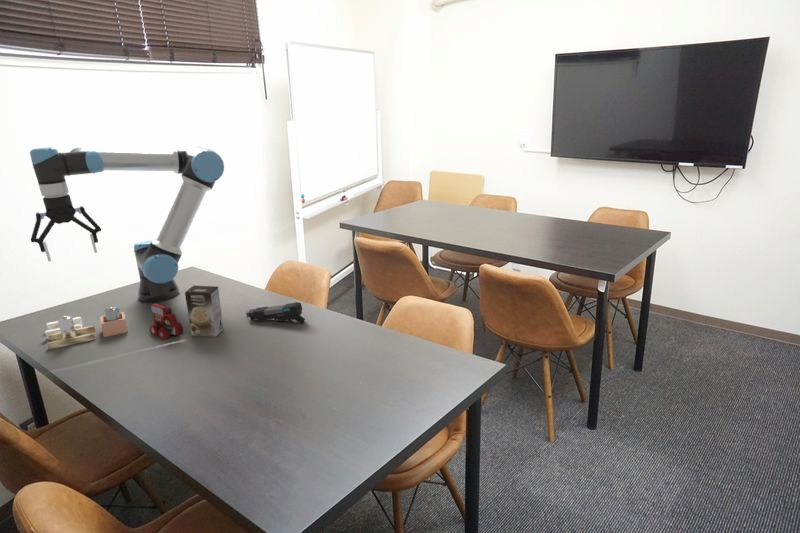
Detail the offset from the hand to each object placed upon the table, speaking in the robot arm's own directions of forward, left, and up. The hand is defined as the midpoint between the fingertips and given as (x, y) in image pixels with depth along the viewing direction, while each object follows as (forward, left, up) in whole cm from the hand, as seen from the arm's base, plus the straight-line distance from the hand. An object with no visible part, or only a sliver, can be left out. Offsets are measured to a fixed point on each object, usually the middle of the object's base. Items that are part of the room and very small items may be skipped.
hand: (73, 256), depth 169 cm
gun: (-58, +37, -26) cm, 73 cm away
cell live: (+5, +15, -25) cm, 29 cm away
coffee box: (-35, +33, -25) cm, 54 cm away
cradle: (+7, +5, -25) cm, 27 cm away
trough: (+5, +15, -25) cm, 30 cm away
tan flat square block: (+7, +5, -24) cm, 26 cm away
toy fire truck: (-23, +27, -26) cm, 44 cm away
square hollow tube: (-8, +15, -25) cm, 30 cm away
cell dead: (-8, +15, -24) cm, 30 cm away
